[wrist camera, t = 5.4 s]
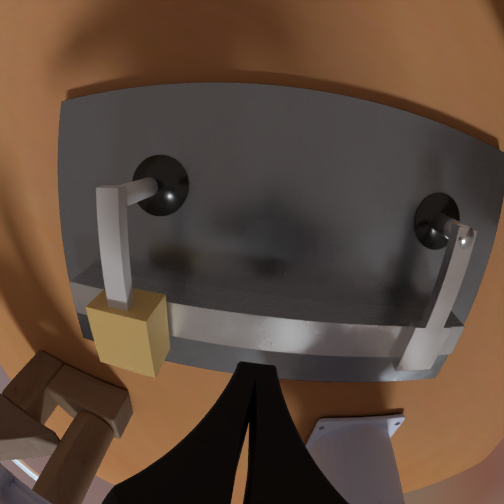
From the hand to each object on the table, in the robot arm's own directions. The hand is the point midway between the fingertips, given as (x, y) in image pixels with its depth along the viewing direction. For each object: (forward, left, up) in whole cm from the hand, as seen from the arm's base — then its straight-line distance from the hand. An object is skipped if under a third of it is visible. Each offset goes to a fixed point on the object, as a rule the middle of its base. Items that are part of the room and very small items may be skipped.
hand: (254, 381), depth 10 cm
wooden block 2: (-12, +16, -6) cm, 21 cm away
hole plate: (+3, 0, -6) cm, 7 cm away
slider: (+3, +6, -5) cm, 8 cm away
